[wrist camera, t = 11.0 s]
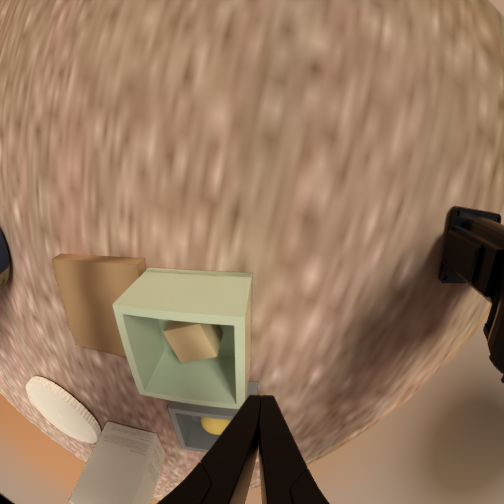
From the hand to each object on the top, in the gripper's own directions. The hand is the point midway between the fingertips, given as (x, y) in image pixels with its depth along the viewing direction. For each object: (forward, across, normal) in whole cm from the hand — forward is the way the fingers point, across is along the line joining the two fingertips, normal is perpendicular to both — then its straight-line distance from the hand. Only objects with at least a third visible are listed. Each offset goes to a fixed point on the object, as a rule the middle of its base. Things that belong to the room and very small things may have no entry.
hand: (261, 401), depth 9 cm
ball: (+11, +5, +16) cm, 20 cm away
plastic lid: (+12, +31, +25) cm, 42 cm away
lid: (+13, +15, +4) cm, 20 cm away
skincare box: (+12, +18, +27) cm, 35 cm away
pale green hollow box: (+12, +6, +4) cm, 14 cm away
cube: (+11, +6, +4) cm, 13 cm away
